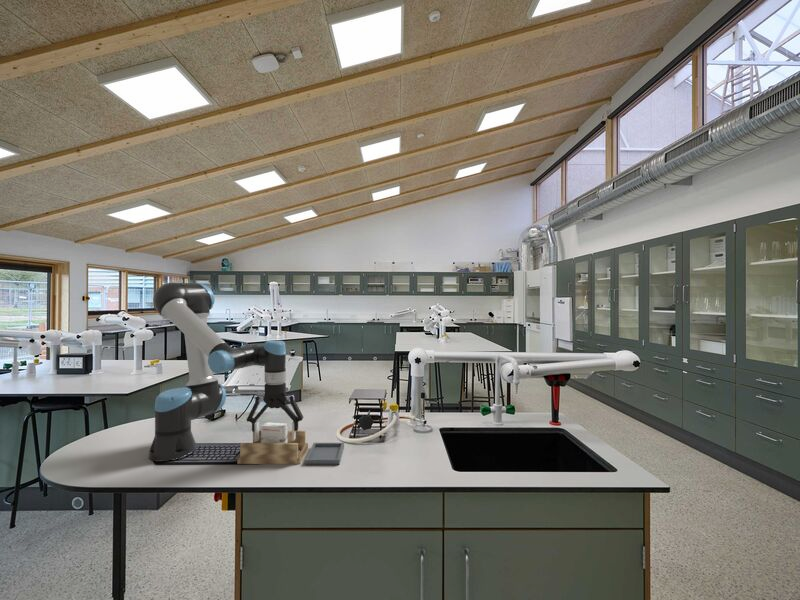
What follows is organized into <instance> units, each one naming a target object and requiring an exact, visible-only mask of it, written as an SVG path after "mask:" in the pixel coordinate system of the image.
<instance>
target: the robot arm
mask: <svg viewBox="0 0 800 600" xmlns="http://www.w3.org/2000/svg"><path fill="white" fill-rule="evenodd" d="M152 304H153V306H154V309H155V311H156V312H157V313H158V314H159V315H160V316H161V317H162V319H165V320H169V321H171V323H173V325H175V327H177V328H178V329H179V331H180V332H182V333H183V334H184V341H185V342H184V343H185V344H184V345H185V353H186V360H187V368H188V375H189V378H188V379H189V380H188V382H187V383H186V384H185V386H184V387H176V388H170V389H167V390H164V391H161V393H159V394H158V395H157V396H156V398H155V404H154V437H153V440H152V442H151V445H150V448H149V452H148V459H149V460H150V461H152V462H155V461H154V460H171V459H176V458H179V457H182V456H184V455H186V454H188V453H190V452H191V451H193V450H194V449H195V448H196V449H197V442H196V441H195V438H194V436H193V432H192V421H193V420H196V419H199V418H202V417H205V416H208V415H212V414H214V413H216V412H218V411H220V410H221V409H222V408H223V407H224V405H225V403H226V400H227V392H226V389H225V387H224V386H223V384H221V383H219V380H218V378H216V377H215V375H214V373H217V374H219V373H220V374H221V373H227V372H230V371H235V370H239V369H244V368H249V367H253V366H260V367H264V383H265V384H264V395H260V394H258V395H257V396H255V398H254V399H255V400H254V404H253V406H252V408H251V410H250V412H249V414H248V416H247V418H246V422H250V423H251V431H252V433H253V432H255V441H257V440H258V439H259V430H260V421H259V420H258V419H259V418H260V417H261V416H262V415H263V414H264V412H265V411H266V410H267V409H268V408H270V409H279V408H281V409H282V410H283V411H284V412H285V413H286V414H287V415H288V417H289V418H290V419H291V420H292V422H291V430H292V441H294V440H295V438H296V431H297V430H299V422H301V421H303V419H304V415H303V413H302V411H301V409H300V407H299V405H298V403H297V401H296V397H295V394H291V395H287V394H286V393H287V392H286V391H287V389H286V388H287V387H286V385H287V384H286V381H287V378H286V377H287V375H286V374H287V373H286V363H287V362H286V359H287V350H286V348H287V347H286V343H285V341H283V340H267V341H265V342H264V345H256V344H244V345H241V346H239V347H235V348H234V347H233V348H232V346H230V345H229V344H228V342H225V340H224V339H223V338H222V337H221V336H219V335H218V334H217V333H216V331H214V330H213V329H212V328H211V327H210V326H209V325H208V323H207V322H208V321H207V318H208V317H209V316H210V315H211V313H210V310H212V309H213V307H214V305H215V295H214V292H213V290H212V289H211V288H210V287H209V286H208V285H206V284H203V283H198V282H195V283H194V282H192V283H191V282H167V283H164V284H161V286H159V287H158V288H157V289H156V290H155V292H154V294H153V297H152ZM262 401H264V403H265V405H263V407H262V408H261V409H260V410H259V412H257V414H256V415H255V413H256V411H257V409H258V408H259V405H260V403H261V402H262ZM287 401H288V402H289V403H290V405H291V407H292V409H293V410H292V409H291V408H290V406H288V404H287V403H286V402H287ZM293 411H294V412H293Z"/></svg>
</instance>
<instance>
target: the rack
mask: <svg viewBox="0 0 800 600" xmlns="http://www.w3.org/2000/svg"><path fill="white" fill-rule="evenodd" d="M306 432H307V431H306V430H304V429H303V430H301V429H300V430H299V429H298V430H297V431H296V438H295V440H294V441H292V429H291V430H289V429H287V443H261V429H259V439H258V440H257V441H255V432H252V442H245V443H244V442H241V443H240V444H239V446H240V447H239V452H240V453H239V456H238V457H237V458H236V460H237V461H236V462H237V463H236V465H259V464H260V465H284V464H285V465H300V464H301V463H302V461H303V459H304V457H305V455H306V453H307V451H308V449H309V443H308V442H306ZM299 450H301V451H300V453H299Z"/></svg>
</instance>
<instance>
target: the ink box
mask: <svg viewBox="0 0 800 600" xmlns="http://www.w3.org/2000/svg"><path fill="white" fill-rule="evenodd" d="M260 430H261V443H287V430H288V423H282V422H269V421H268V422H265V423H264V424H262V425H261V426H260Z"/></svg>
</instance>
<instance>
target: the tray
mask: <svg viewBox="0 0 800 600" xmlns="http://www.w3.org/2000/svg"><path fill="white" fill-rule="evenodd" d="M344 449H345V442H313V443H312V445H311V448H310V450H309V451H308V453H307V455H306V457H305V460H304V465H305V466H340V464H341V461H342V457H343V453H344Z"/></svg>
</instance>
